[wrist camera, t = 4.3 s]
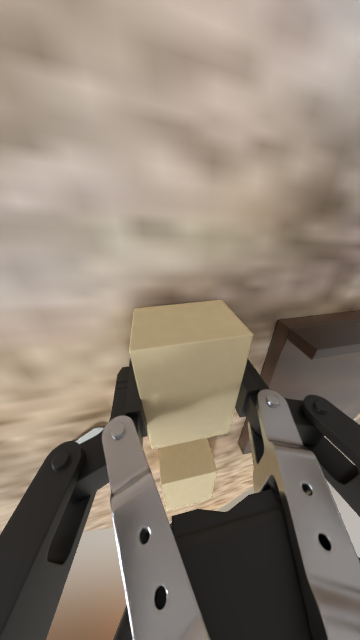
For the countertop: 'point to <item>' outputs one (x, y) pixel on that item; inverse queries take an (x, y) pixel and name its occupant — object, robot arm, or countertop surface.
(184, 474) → the pad
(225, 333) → the beige rectangular block
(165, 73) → the countertop surface
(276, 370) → the board
